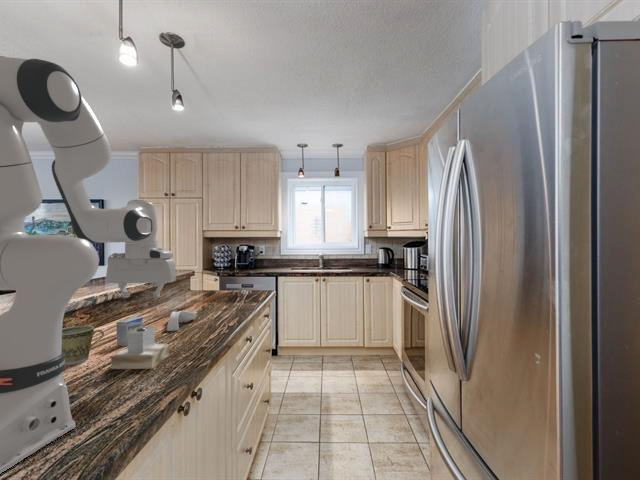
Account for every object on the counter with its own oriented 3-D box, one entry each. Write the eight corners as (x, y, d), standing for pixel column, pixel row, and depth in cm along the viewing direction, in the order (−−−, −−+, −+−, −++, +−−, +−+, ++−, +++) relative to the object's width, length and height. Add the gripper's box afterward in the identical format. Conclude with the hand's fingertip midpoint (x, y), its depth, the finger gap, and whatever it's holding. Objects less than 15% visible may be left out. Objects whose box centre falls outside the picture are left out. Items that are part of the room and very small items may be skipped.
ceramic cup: (46, 369, 94) (46, 335, 94) (64, 357, 103) (63, 326, 103) (97, 364, 97) (97, 332, 97) (109, 353, 107) (109, 323, 107)
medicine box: (126, 346, 114) (126, 322, 114) (116, 345, 115) (116, 321, 115) (143, 339, 122) (143, 317, 122) (133, 339, 123) (132, 316, 123)
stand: (152, 368, 94) (151, 355, 94) (111, 368, 94) (111, 355, 94) (169, 355, 105) (169, 343, 105) (133, 355, 105) (133, 343, 105)
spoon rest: (173, 318, 155) (173, 304, 155) (198, 317, 158) (198, 303, 158) (158, 332, 132) (158, 315, 132) (188, 330, 134) (188, 313, 134)
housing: (154, 345, 103) (154, 325, 103) (142, 352, 96) (142, 331, 96) (140, 345, 103) (140, 325, 103) (127, 352, 96) (127, 332, 96)
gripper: (101, 253, 96) (101, 299, 96) (168, 253, 96) (168, 298, 96) (114, 252, 103) (114, 295, 102) (178, 252, 103) (178, 295, 102)
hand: (141, 297), depth 99 cm, fingers open, 8 cm apart
